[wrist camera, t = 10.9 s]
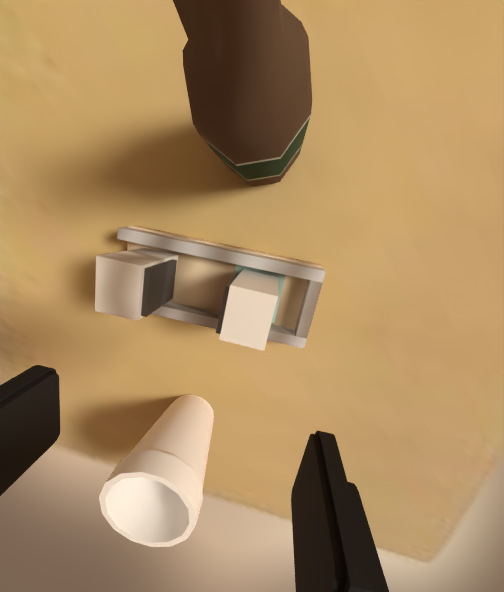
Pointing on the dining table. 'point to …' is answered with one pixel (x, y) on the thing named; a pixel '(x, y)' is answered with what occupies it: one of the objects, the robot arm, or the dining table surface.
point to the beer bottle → (248, 83)
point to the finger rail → (200, 281)
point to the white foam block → (248, 309)
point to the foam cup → (162, 477)
